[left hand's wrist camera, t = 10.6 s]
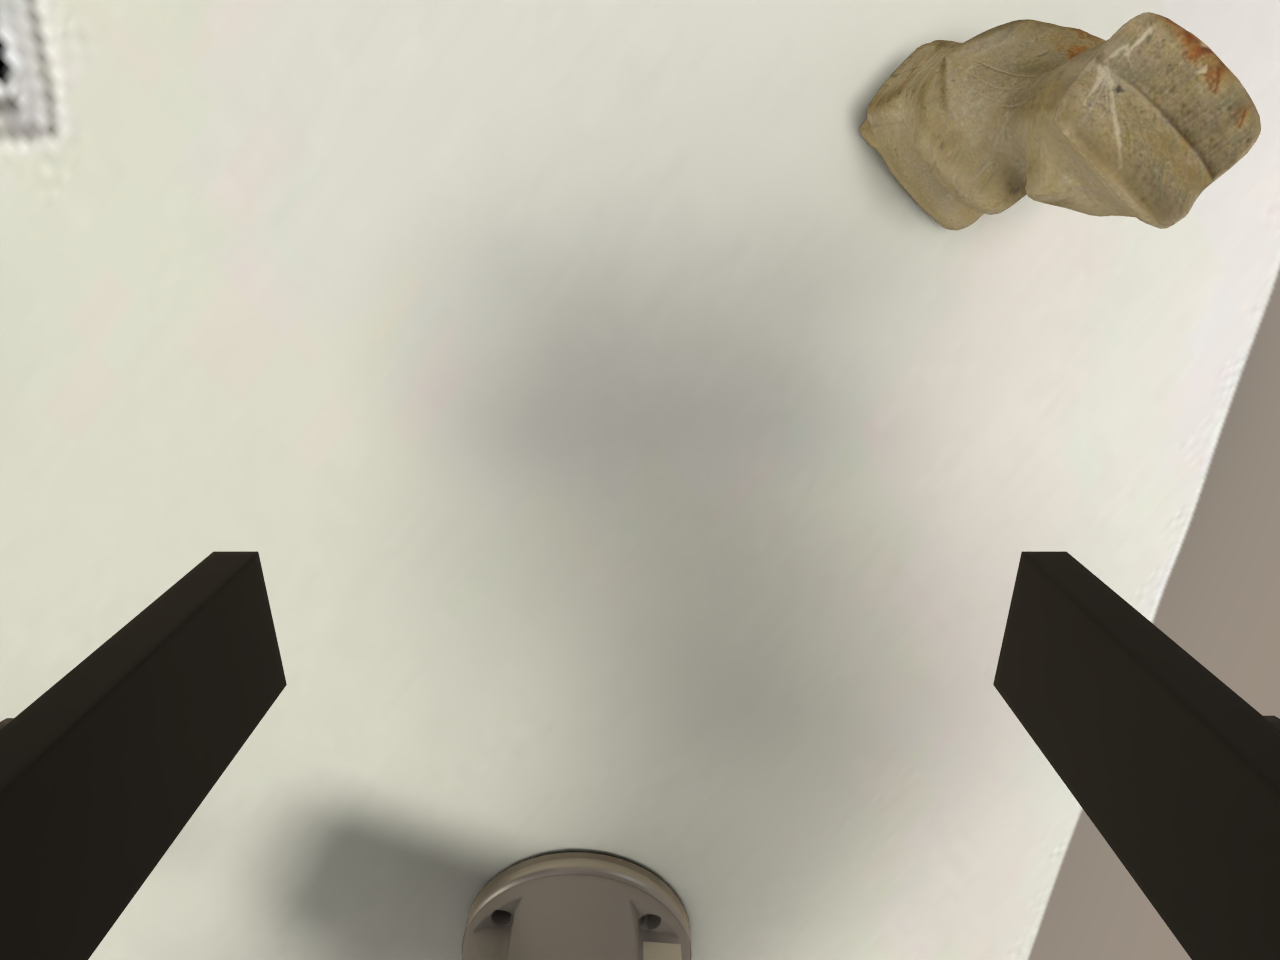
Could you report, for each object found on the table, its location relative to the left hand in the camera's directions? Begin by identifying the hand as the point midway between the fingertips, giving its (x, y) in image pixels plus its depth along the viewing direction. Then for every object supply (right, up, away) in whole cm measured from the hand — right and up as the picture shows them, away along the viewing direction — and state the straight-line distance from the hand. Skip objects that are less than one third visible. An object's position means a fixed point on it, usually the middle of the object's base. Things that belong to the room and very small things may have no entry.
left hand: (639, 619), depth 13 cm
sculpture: (+13, +17, +19) cm, 29 cm away
